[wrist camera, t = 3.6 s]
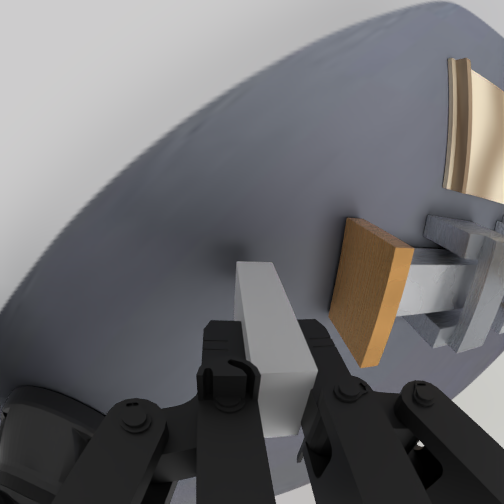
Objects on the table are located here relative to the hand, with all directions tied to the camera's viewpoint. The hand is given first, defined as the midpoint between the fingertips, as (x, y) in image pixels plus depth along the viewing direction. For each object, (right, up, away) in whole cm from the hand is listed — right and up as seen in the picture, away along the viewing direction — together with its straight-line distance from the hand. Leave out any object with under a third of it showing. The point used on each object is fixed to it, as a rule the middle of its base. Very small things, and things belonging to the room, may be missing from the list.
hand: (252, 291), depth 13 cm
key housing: (+13, +1, +5) cm, 14 cm away
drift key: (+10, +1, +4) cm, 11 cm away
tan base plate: (+17, +10, +2) cm, 20 cm away
